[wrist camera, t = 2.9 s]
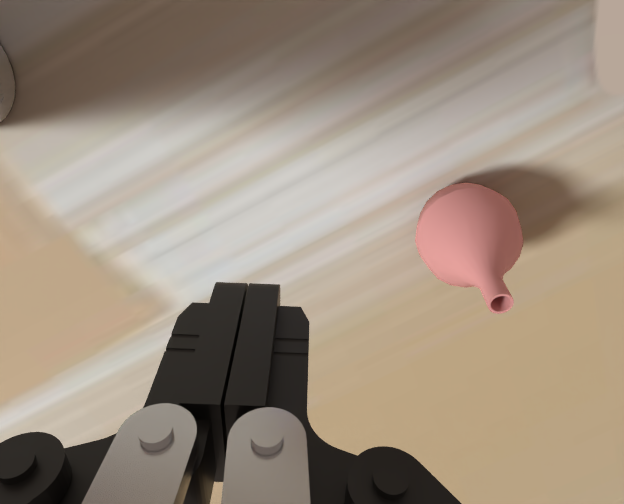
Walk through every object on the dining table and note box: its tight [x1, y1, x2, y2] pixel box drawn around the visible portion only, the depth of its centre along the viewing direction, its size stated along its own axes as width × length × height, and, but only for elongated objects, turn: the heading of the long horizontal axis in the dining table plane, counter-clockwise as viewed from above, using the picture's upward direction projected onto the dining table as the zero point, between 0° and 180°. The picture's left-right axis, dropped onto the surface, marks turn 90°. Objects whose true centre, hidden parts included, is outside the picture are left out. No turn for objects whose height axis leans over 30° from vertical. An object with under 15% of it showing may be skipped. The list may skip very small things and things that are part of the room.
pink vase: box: [415, 182, 523, 314], centre depth 35 cm, size 8×8×12 cm
